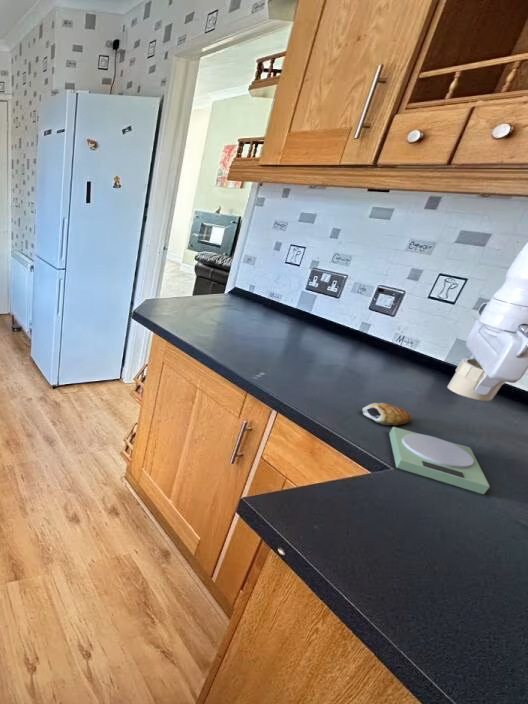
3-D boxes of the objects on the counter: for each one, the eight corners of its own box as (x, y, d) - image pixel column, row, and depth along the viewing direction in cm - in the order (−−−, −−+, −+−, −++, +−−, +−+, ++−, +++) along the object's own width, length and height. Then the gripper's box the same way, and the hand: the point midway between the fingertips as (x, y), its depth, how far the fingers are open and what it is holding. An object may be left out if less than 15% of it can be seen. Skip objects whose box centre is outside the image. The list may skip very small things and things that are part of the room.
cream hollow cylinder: (487, 391, 84) (505, 364, 81) (497, 404, 79) (516, 376, 76) (443, 381, 87) (459, 355, 84) (449, 393, 82) (466, 366, 79)
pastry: (392, 411, 104) (399, 398, 102) (416, 426, 98) (425, 413, 96) (357, 412, 103) (364, 399, 101) (380, 427, 97) (388, 414, 95)
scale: (465, 454, 89) (471, 445, 87) (483, 494, 78) (492, 484, 76) (388, 433, 95) (394, 424, 94) (396, 467, 84) (402, 457, 83)
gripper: (565, 338, 66) (512, 411, 73) (523, 308, 81) (482, 371, 88) (510, 329, 69) (464, 400, 76) (479, 302, 84) (443, 363, 91)
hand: (474, 384), depth 82 cm, fingers closed on cream hollow cylinder, 7 cm apart
